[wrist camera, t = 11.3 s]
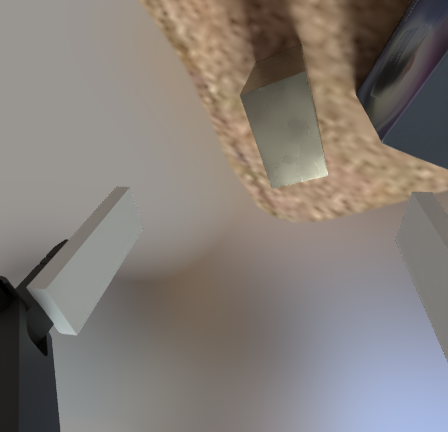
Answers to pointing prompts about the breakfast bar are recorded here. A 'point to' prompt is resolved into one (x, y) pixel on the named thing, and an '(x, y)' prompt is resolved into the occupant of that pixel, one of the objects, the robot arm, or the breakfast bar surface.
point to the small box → (412, 84)
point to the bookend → (284, 118)
